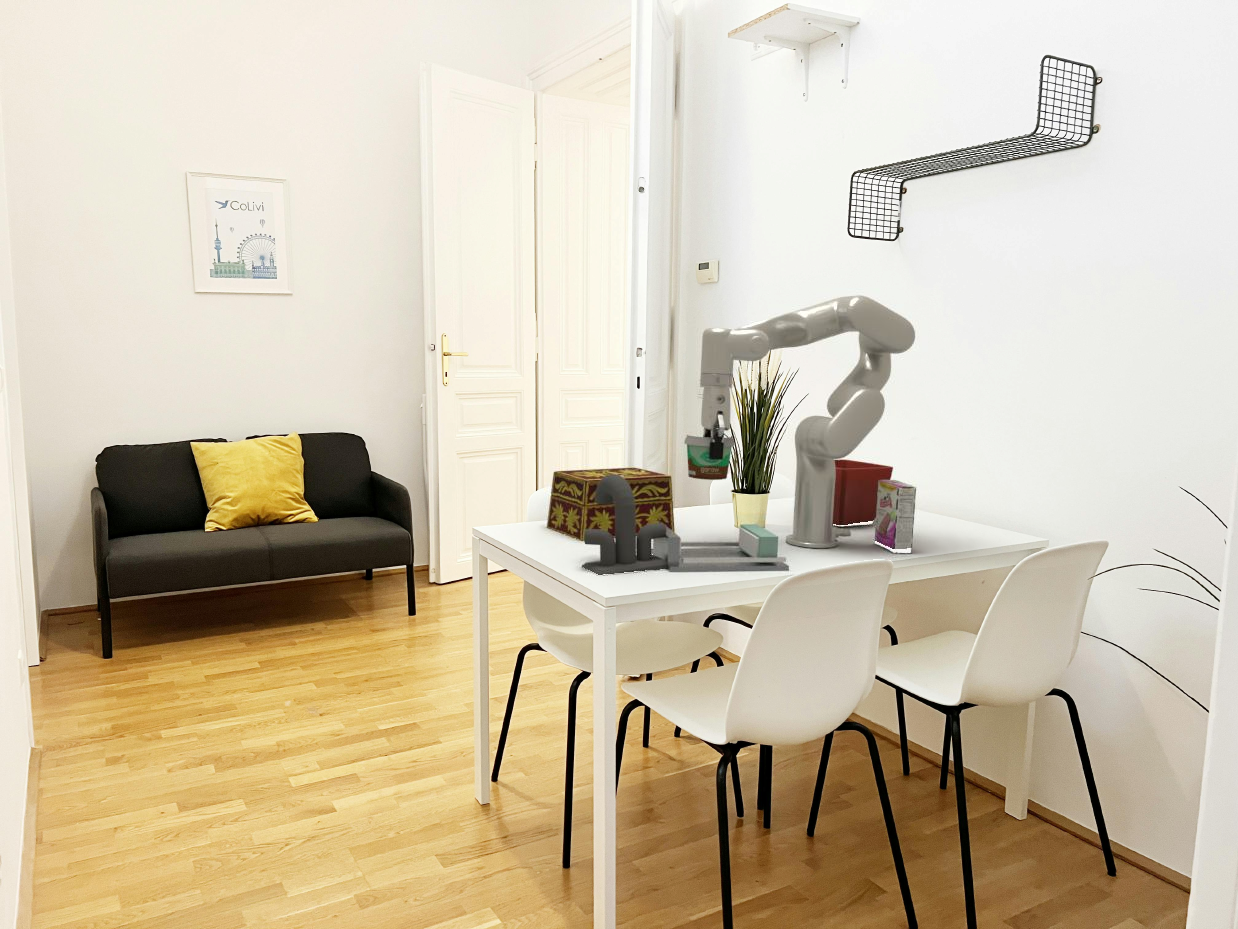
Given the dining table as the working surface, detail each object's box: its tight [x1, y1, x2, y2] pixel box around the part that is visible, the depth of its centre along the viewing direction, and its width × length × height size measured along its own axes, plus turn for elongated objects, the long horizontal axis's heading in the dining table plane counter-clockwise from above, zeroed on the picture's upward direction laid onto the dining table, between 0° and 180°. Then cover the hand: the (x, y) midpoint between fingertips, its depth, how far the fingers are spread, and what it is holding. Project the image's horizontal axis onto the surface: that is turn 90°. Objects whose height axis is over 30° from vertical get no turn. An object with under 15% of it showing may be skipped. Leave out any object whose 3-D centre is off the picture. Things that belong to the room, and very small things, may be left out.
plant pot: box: [833, 458, 894, 525], centre depth 257 cm, size 19×19×17 cm
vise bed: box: [651, 525, 790, 573], centre depth 205 cm, size 26×18×7 cm
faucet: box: [581, 474, 667, 576], centre depth 198 cm, size 18×16×20 cm
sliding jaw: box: [738, 523, 779, 563], centre depth 206 cm, size 4×14×6 cm, turn 11°
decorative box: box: [546, 467, 675, 542], centre depth 236 cm, size 28×19×15 cm
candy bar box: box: [874, 479, 917, 549], centre depth 224 cm, size 11×5×16 cm, turn 9°
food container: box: [684, 434, 735, 481], centre depth 218 cm, size 12×6×10 cm, turn 103°
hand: (712, 456), depth 218 cm, fingers closed on food container, 6 cm apart
